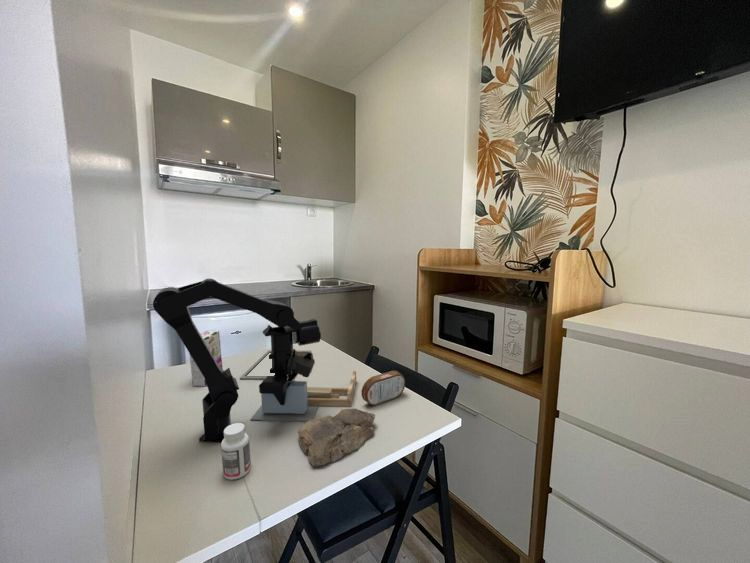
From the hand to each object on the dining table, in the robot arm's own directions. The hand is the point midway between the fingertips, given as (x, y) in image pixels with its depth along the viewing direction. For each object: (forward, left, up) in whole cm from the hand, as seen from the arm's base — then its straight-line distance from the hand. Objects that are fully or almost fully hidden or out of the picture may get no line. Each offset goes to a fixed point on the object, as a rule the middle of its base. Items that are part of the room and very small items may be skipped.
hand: (284, 401), depth 85 cm
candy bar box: (+21, +35, -4) cm, 41 cm away
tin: (+9, -28, -4) cm, 30 cm away
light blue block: (0, 0, -2) cm, 3 cm away
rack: (+13, -7, -4) cm, 15 cm away
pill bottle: (-21, +3, -4) cm, 22 cm away
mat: (0, 0, -4) cm, 4 cm away
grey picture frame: (+35, +14, -5) cm, 38 cm away
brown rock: (-9, -17, -4) cm, 20 cm away
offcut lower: (+8, -7, -4) cm, 12 cm away
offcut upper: (+8, -7, -2) cm, 11 cm away
